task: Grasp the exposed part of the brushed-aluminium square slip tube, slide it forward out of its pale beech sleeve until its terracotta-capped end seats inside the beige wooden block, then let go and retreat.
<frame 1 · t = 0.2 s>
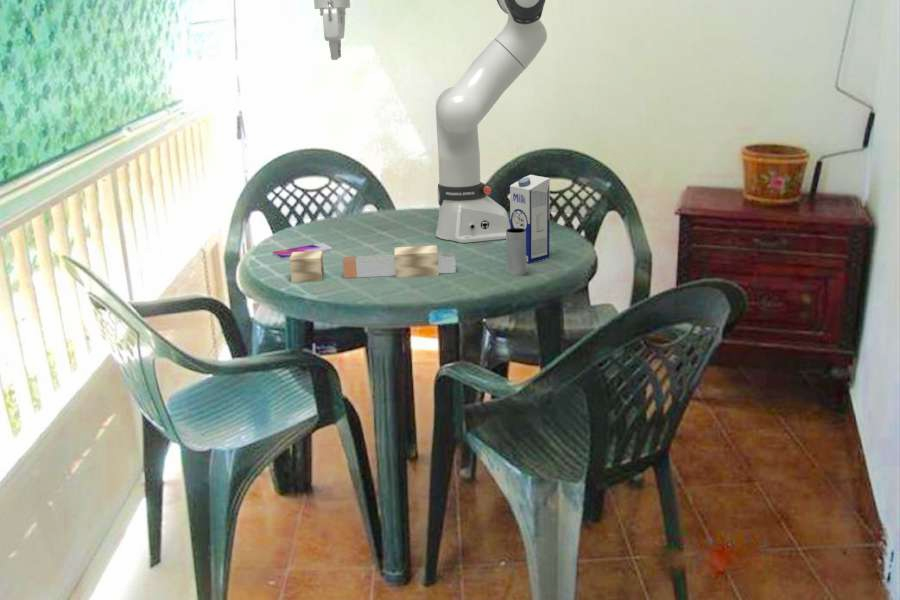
hand: (336, 58, 213), 48 cm above the table, fingers open, 8 cm apart
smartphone: (303, 253, 219), on the table
beige wooden block: (308, 278, 197), on the table
grey cylinder: (516, 274, 195), on the table
sleeve: (417, 272, 198), on the table
slip tube: (399, 264, 197), point 2 cm above the table, slide at 0.0 cm
milk carton: (529, 258, 207), on the table
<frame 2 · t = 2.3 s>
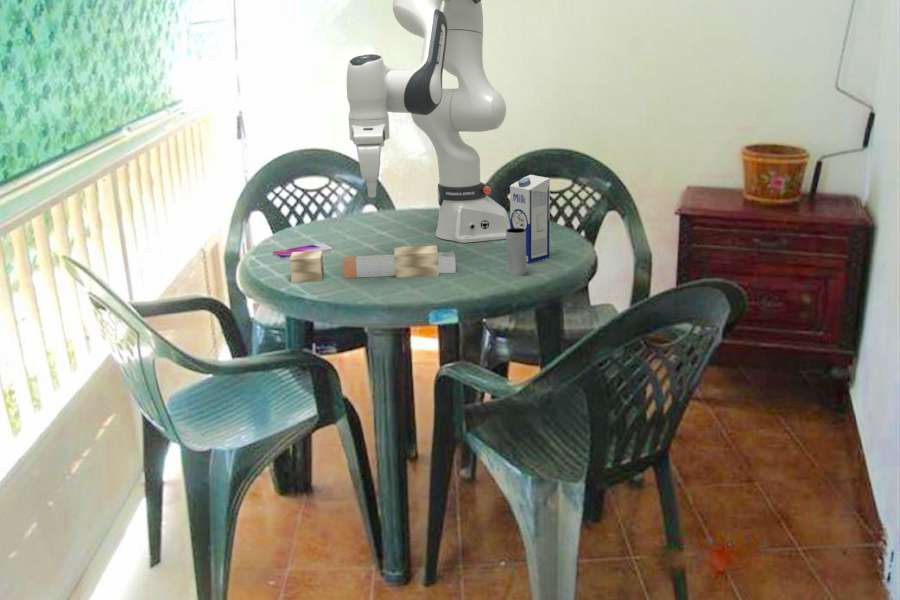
hand: (372, 192, 191), 20 cm above the table, fingers open, 8 cm apart
nothing on the table moved.
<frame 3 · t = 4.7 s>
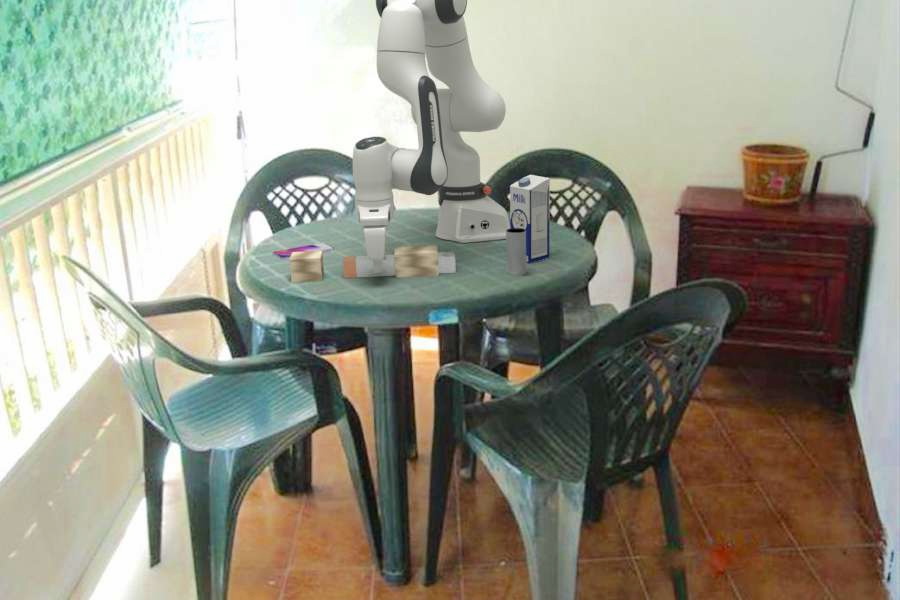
hand: (378, 267, 197), 2 cm above the table, fingers closed on slip tube, 4 cm apart
slip tube: (399, 264, 197), point 2 cm above the table, slide at 0.0 cm, touching gripper
everything else where it was.
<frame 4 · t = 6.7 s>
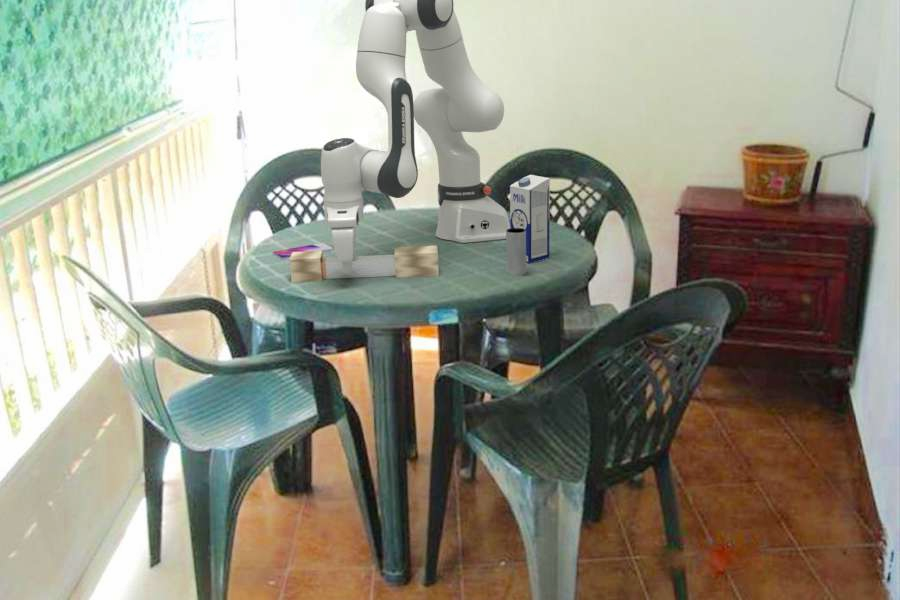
hand: (348, 269, 197), 2 cm above the table, fingers closed on slip tube, 4 cm apart
slip tube: (369, 266, 197), point 2 cm above the table, slide at 7.0 cm, touching gripper
everything else where it was.
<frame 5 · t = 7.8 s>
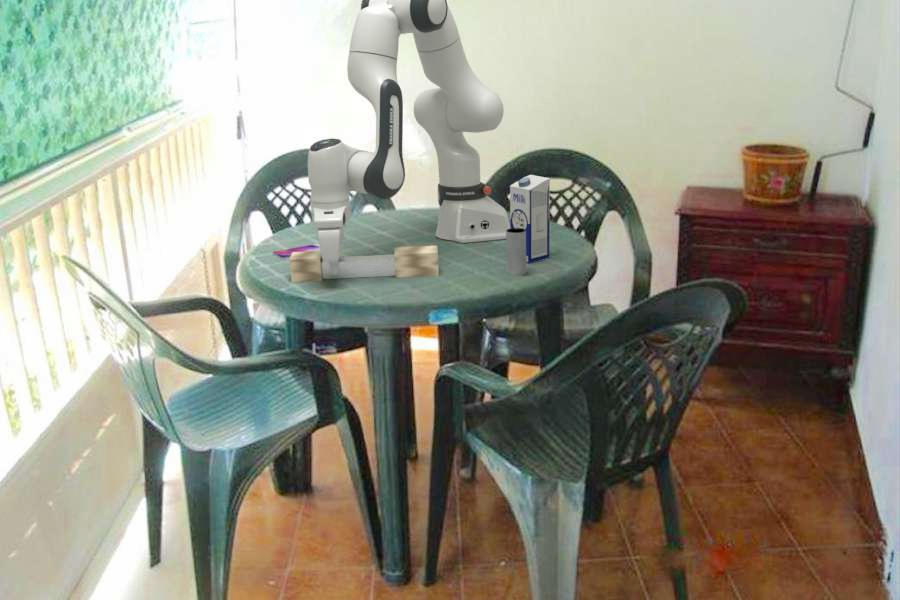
hand: (335, 269, 196), 2 cm above the table, fingers closed on slip tube, 4 cm apart
slip tube: (356, 266, 197), point 2 cm above the table, slide at 10.0 cm, touching gripper
everything else where it was.
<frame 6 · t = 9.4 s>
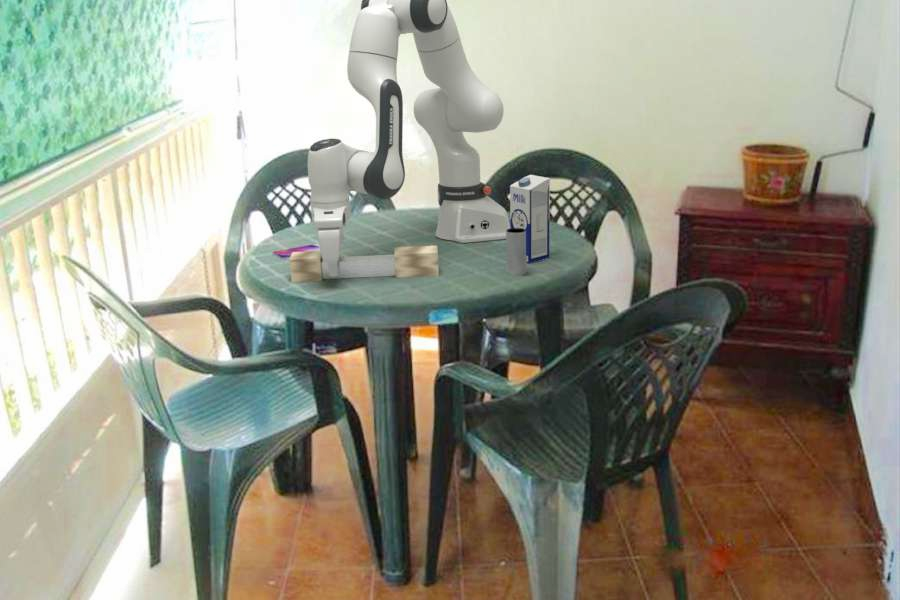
hand: (335, 269, 196), 2 cm above the table, fingers open, 8 cm apart
slip tube: (356, 266, 197), point 2 cm above the table, slide at 10.0 cm
everything else where it was.
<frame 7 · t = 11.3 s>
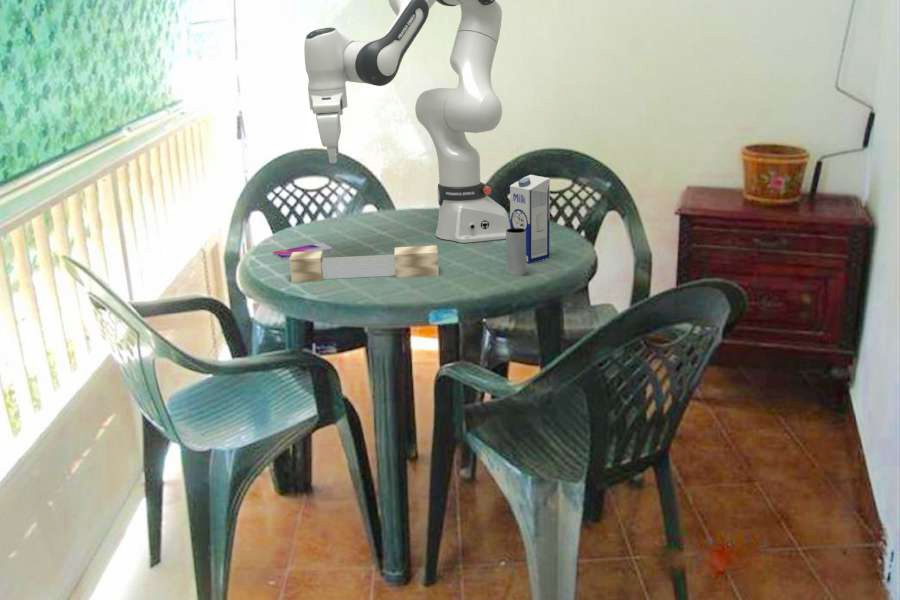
hand: (334, 158, 203), 25 cm above the table, fingers open, 8 cm apart
nothing on the table moved.
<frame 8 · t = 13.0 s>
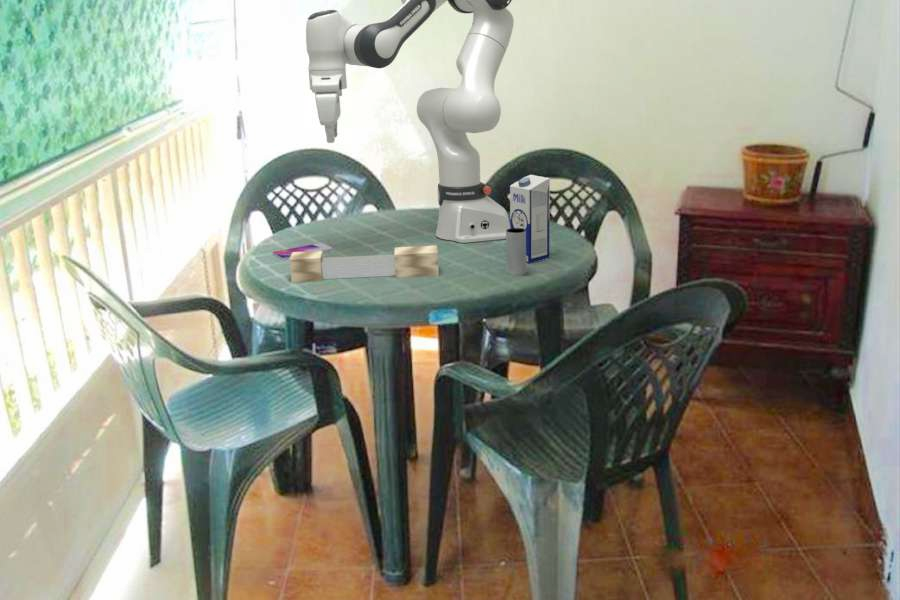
hand: (332, 139, 206), 29 cm above the table, fingers open, 8 cm apart
nothing on the table moved.
at the end: slip tube slide at 10.0 cm; the gripper is holding nothing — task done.
